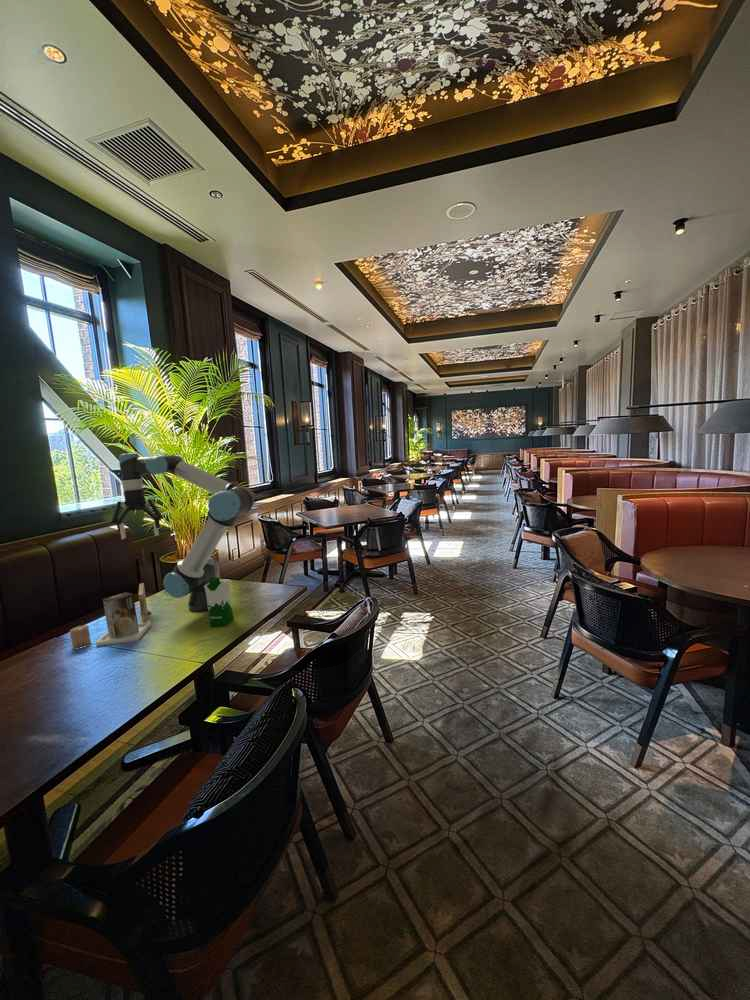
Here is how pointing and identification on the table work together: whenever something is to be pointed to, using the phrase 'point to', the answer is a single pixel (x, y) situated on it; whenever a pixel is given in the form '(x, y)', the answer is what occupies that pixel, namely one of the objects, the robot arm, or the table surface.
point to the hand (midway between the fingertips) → (140, 537)
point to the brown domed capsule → (80, 636)
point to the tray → (129, 638)
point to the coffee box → (120, 615)
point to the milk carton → (219, 602)
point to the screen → (143, 604)
